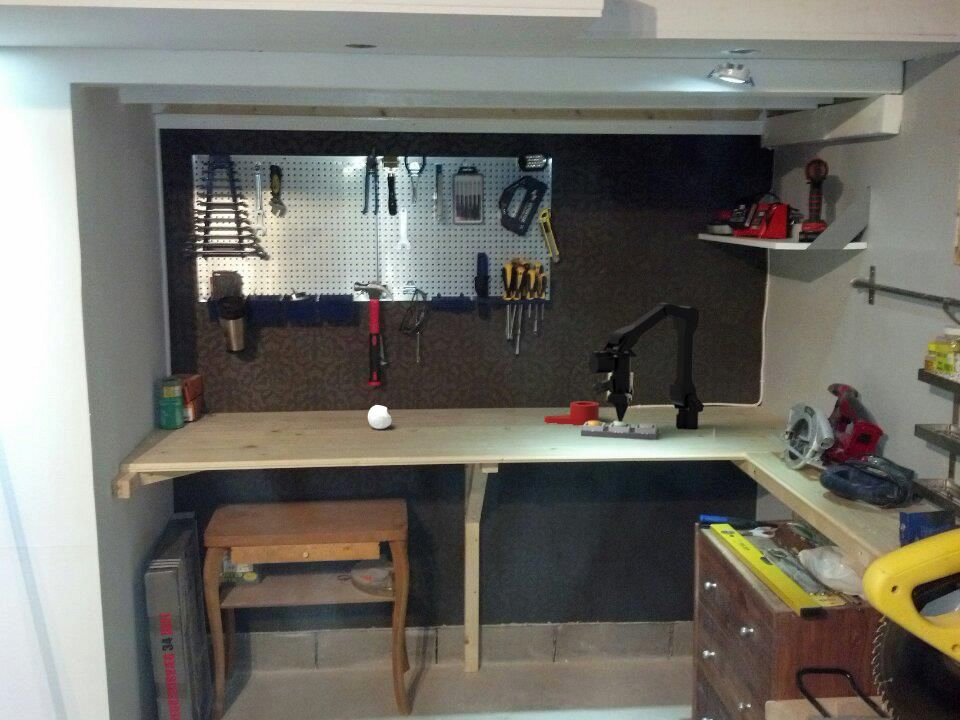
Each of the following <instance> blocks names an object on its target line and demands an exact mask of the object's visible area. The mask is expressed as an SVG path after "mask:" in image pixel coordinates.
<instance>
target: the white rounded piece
mask: <svg viewBox="0 0 960 720" xmlns="http://www.w3.org/2000/svg"><path fill="white" fill-rule="evenodd" d="M367 421H368V423H369V425H370V426H371V427H372V428H373V429H377V430H385V429H386V428H388V427H390V425H391V423H392V416H391V415H390V414H389V412H388V407H387V406H384V405H379V404H375V405H374V406H372V407H371V408H370V409H369V411H368V412H367Z"/></svg>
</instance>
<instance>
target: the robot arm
mask: <svg viewBox="0 0 960 720" xmlns="http://www.w3.org/2000/svg"><path fill="white" fill-rule="evenodd" d="M700 317H701V316H700V311H699V310H698V309H697V308H696V307H694V306H685V305H679V306H678V305H674V304H672V303H670V302H660V303H658V304H657V305H656V306H655V307H654V308H653V309H651V310H650V311H649V312H647V313H645V314H644V315H643V316H641V317H640V318H638V319H637V320H636V321H634V322H633V323H631V324H630V325H627V326H623V327H621V328H618V329H616V330H614V331H613V332H611V333H610V334H609V338H608V341H607V343H605V346H603V348H602V350H601V351H592V353H591V356H590V357H589V360H588V363H587V366H588V370H589V371H590V373H591V374H593V375H596V374H597V375H598V374H609V373H611V375H610V376H609V379H605V380H599V381H596V382H595V383H594V384H593V385H592V389H593V391H594V394H595V395H596V396H598V395H600V394H603V393H606V392H608V393H609V394H608V395H607V396H606V403H607V404H612V405H613V406H614V408H615V411H616V412H615V413H616V418H617V420H618V421H619V422H622V420H623V421H624V418H625V416H626V413H627V410H628V408H629V405H630V403H631V401H632V397H630V396H634V395H635V394H634V393H635V392H634V391H635V390H634V389H635V388H634V387H633V386H632V385H631V378H632V374H631V363H632V362H631V358H637V356H638V354H637V353H635V352H634V350H633V348H634V347H635V346H636V345H637V344H638V343H639V341H640V339H641V337H642V336H643V335H644V334H646V333H647V332H648V331H650V330H652V329H653V328H654V327H655V326H657V325H658V324H660V323H661V322H663V321H664V320H665V319H666V318H669V319H672V322H673V327H674V329H675V331H676V334H677V345H676V346H677V350H676V352H677V354H676V355H677V356H676V377H675V380H674V382H673V383H669V393H668V397H669V398H670V401H671V402H672V403H673V407H674V409H676V410H678V412H677V413H676V417H675V423H676V424H675V427H676V429H678V430H686V431H687V430H689V431H691V430H693V431H698V430H699V413H702V412H703V411H704V407H705V405H704V404H703V403H702V401H701V400H700V399H699V397H698V391H697V387H696V385H695V382H694V380H693V359H694V357H693V356H694V334H695V332H696V331H697V329H698V327H699V323H700V319H701V318H700ZM629 395H630V396H629Z"/></svg>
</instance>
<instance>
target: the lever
mask: <svg viewBox="0 0 960 720" xmlns="http://www.w3.org/2000/svg"><path fill="white" fill-rule="evenodd" d="M569 407H570V408H569V410H570V411H569V414H560V415H556V414H555V415H545V416H544V419H543V420H544V422H543V423H545V422H546V423H545V424H549V423H557V424H556V425H564V424H573V425H572V426H579V425H584V424H585V422H588V421H591V420H596V421H600V420H599V414H600V412H599V411H600V409H599V408H600V403H599V402H596V401H588V400H587V401H586V400H584V401H583V400H578V401H571V402H570V405H569Z"/></svg>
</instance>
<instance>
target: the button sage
mask: <svg viewBox="0 0 960 720" xmlns="http://www.w3.org/2000/svg"><path fill="white" fill-rule="evenodd" d="M613 423H614V425H613V427H626V424H628V423H627V421H626V420H624V419H623V420H622V422H619V421H618V419H617V420H613Z"/></svg>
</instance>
